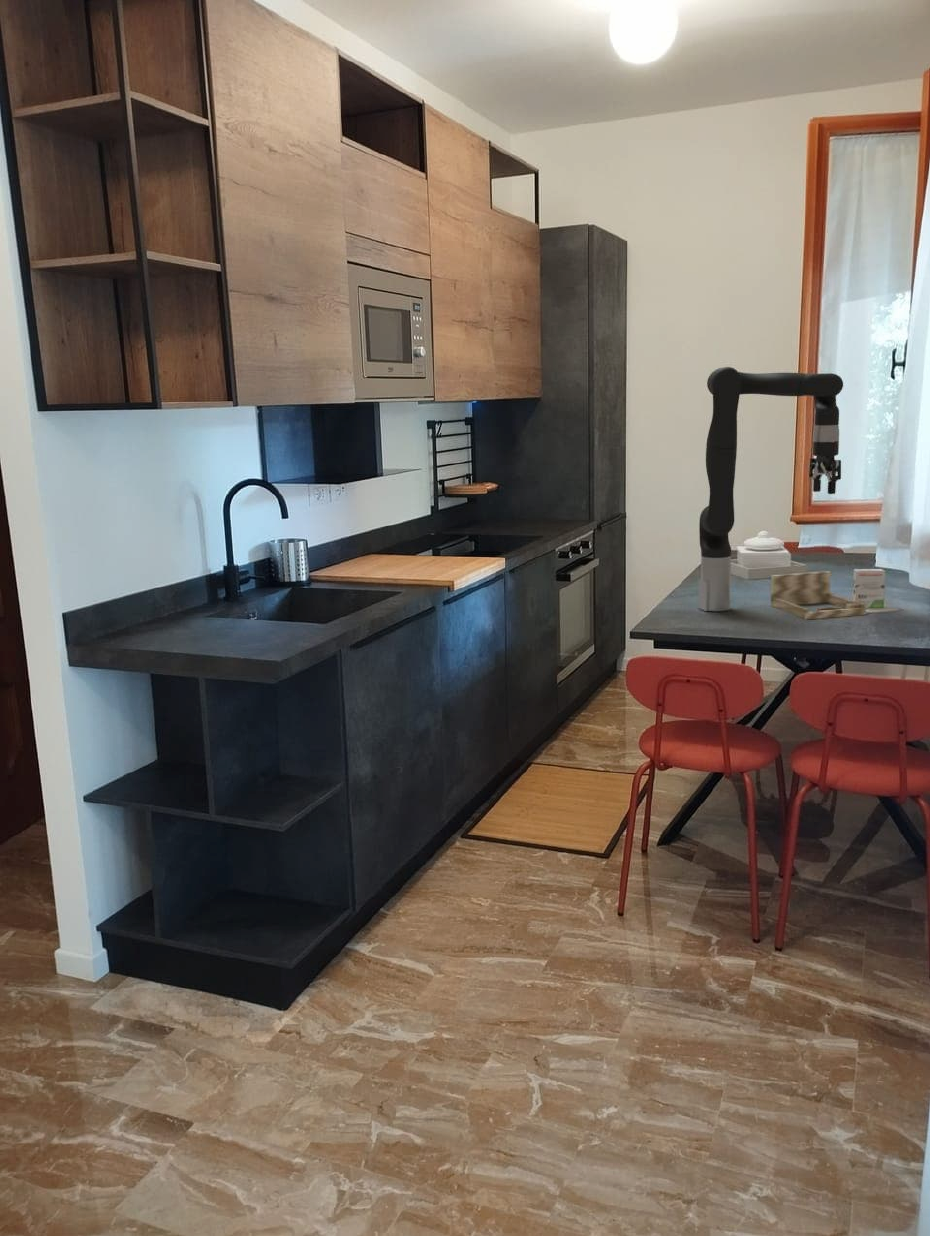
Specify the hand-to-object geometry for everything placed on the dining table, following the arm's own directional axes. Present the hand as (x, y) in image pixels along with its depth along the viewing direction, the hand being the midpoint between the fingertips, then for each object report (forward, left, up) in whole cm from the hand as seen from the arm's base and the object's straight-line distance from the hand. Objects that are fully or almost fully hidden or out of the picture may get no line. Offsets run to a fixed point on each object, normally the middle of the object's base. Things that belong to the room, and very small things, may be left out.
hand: (824, 492), depth 313 cm
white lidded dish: (+13, +63, -36) cm, 74 cm away
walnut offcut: (-3, -12, -35) cm, 37 cm away
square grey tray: (+13, +63, -36) cm, 74 cm away
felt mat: (+12, -8, -36) cm, 39 cm away
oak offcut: (-4, -14, -36) cm, 39 cm away
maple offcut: (+3, -14, -36) cm, 39 cm away
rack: (-4, -5, -36) cm, 37 cm away
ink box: (+12, -8, -36) cm, 39 cm away
